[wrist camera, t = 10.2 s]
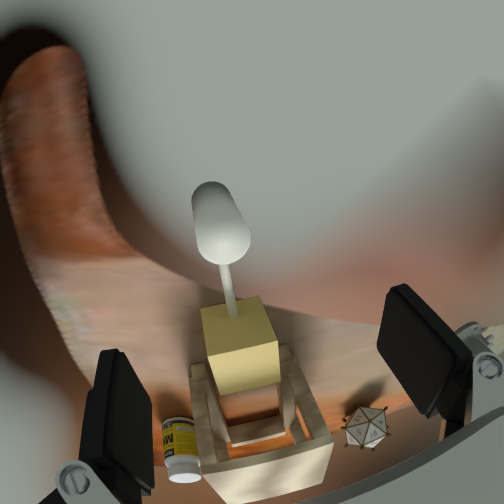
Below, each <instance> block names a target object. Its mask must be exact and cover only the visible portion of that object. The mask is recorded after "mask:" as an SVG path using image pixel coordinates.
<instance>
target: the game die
mask: <svg viewBox="0 0 504 504" xmlns="http://www.w3.org/2000/svg"><path fill="white" fill-rule="evenodd" d="M356 405H357V406H358V408H357V409H356V410H355V411H354V412H353V413H352V415H351V416H350V417H349V418H348V419H347V420H346V419H343V422H346V423H345V427H341V429H342V430H344V429H345V434H346V440H347V444H346V445H345V446H344V448H345V447H347V446H348V445H352V446H358V447H360V449H361V450H362V449H363V448H364V447H365V448H372V451H373V452H374V451H375V449H374V447H375V446H376V445H377V444H378V443H379V442H380V441H381V440H382V439H383V438H384V437H385V436H386V435H387V436H391V434H389V433H387V428H388V427H389V426H387V425H386V417H385V410H387V408H388V406H387V407H385V408H384V409H375V408H368V407H362V406H360V404H359V403H358V402H357V404H356Z"/></svg>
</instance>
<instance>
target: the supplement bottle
mask: <svg viewBox="0 0 504 504" xmlns="http://www.w3.org/2000/svg"><path fill="white" fill-rule="evenodd" d="M162 435H163V450H164V462H165V465H166V466H167V467H168V475H169V479H170V480H171V481H174V482H178V483H190V482H195V481H198V480H200V479H201V470H200V468H199V466H200V460H199V454H198V447H197V440H196V433H195V426H194V421H193V420H191V419H189V418H184V417H173V418H169V419H167V420H165V421H164V422H163V424H162Z"/></svg>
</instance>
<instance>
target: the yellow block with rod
mask: <svg viewBox="0 0 504 504" xmlns="http://www.w3.org/2000/svg"><path fill="white" fill-rule="evenodd" d="M192 210H193V218H194V225H195V232H196V239H197V246H198V249H199V252H200V254H201V255H202V256H203V257H204V258H205V259H206V260H207V261H209V262H211V263H214V264H218V265H219V270H220V275H221V280H222V285H223V290H224V295H225V300H226V303H224V304H219V305H215V306H210V307H205V308H200V311H201V318H202V325H203V331H204V338H205V344H206V351H207V357H208V360H209V363H210V366H211V369H212V372H213V375H214V378H215V381H216V384H217V387H218V390H219V393H220V396H221V395H226V394H231V393H236V392H240V391H245V390H249V389H253V388H257V387H262V386H266V385H269V384H273V383H277V382H281V378H280V364H279V351H278V340H277V338H276V335H275V333H274V330H273V328H272V326H271V323H270V321H269V318H268V316H267V313H266V311H265V309H264V306H263V304H262V301H261V299H260V297H259V296H256V297H251V298H247V299H242V300H238V301H235V295H234V289H233V284H232V278H231V272H230V266H229V264H230V263H233V262H235V261H237V260H239V259H240V258H242V257H243V256H244V255H245V254H246V252H247V250H248V249H249V246H250V242H251V235H250V231H249V228H248V227H247V225H246V223H245V221H244V219H243V217H242V215H241V213H240V211H239V209H238V208H237V206H236V204H235V202H234V200H233V198H232V196H231V194H230V192H229V191H228V189H227V188H226V187H225V186H224V185H223V184H221V183H218V182H206V183H203V184H201V185H200V186H199V187H198V188H197V189H196V190H195V191H194V193H193V196H192Z"/></svg>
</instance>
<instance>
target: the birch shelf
mask: <svg viewBox="0 0 504 504" xmlns="http://www.w3.org/2000/svg"><path fill="white" fill-rule="evenodd" d="M278 351H279V364H280V378H281V382H277V392H278V404H279V415H277V416H273V417H270V418H266V419H262V420H257V421H253V422H249V423H244V424H240V425H235V426H230V427H228V426H227V424H226V421H225V418H224V416H223V413H222V410H221V408H220V405H219V402H218V400H217V397H216V394H215V391H214V388H213V386H212V383H211V380H210V377H209V374H208V371H207V368H206V365H205V362H203V363H198V364H193V365H191V372H192V377H189V386H190V395H191V403H192V411H193V419H194V426H195V433H196V440H197V447H198V454H199V460H200V466H201V472H202V476H203V477H204V478H205V479H206V480H207V482H208V483H209V484H210V485H211V486H212V487H213V489H214V490H215V491H216V492H217V493H218V494H219V495H220V496H221V498H222V499H223V500H224V501H225V502H226V503H227V504H243V503H248V502H253V501H257V500H262V499H266V498H271V497H275V496H279V495H283V494H286V493H290V492H294V491H297V490H301V489H304V488H307V487H310V486H314V485H316V484H319V483H322V481H323V478H324V475H325V471H326V468H327V465H328V462H329V458H330V455H331V452H332V448H333V445H334V441H333V439H332V436H331V434H330V432H329V430H328V428H327V425H326V423H325V421H324V419H323V417H322V414H321V412H320V410H319V408H318V406H317V403H316V401H315V399H314V397H313V395H312V392H311V390H310V388H309V386H308V384H307V381H306V379H305V377H304V375H303V373H302V370H301V368H300V366H299V364H298V362H297V359H296V357H295V355H294V354H292V353H291V351H290V349H289V347H288V344H283V345H279V346H278ZM295 400H296V402H297V405H298V407H299V410H300V412H301V415H302V417H303V419H304V422H305V424H306V427H307V429H308V432H309V434H310V437H311V439H312V440H310V441H307V439H306V437H305V434H304V432H303V429H302V427H301V424H300V421H299V419H298V416H297V414H296V411H295ZM212 427H213V428H212ZM285 428H289V430H290V433H291V435H292V438H293V441H294V444H295V445H293V446H290V447H286V448H283V449H279V450H275V451H271V452H267V453H263V454H259V455H255V456H250V457H246V458H241V459H236V460H231V461H230V457H229V453H228V448H227V444H226V442H231V444H232V446H233V447H236V446H241V445H245V444H250V443H254V442H259V441H263V440H267V439H271V438H275V437H278V436H282V435H285Z"/></svg>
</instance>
